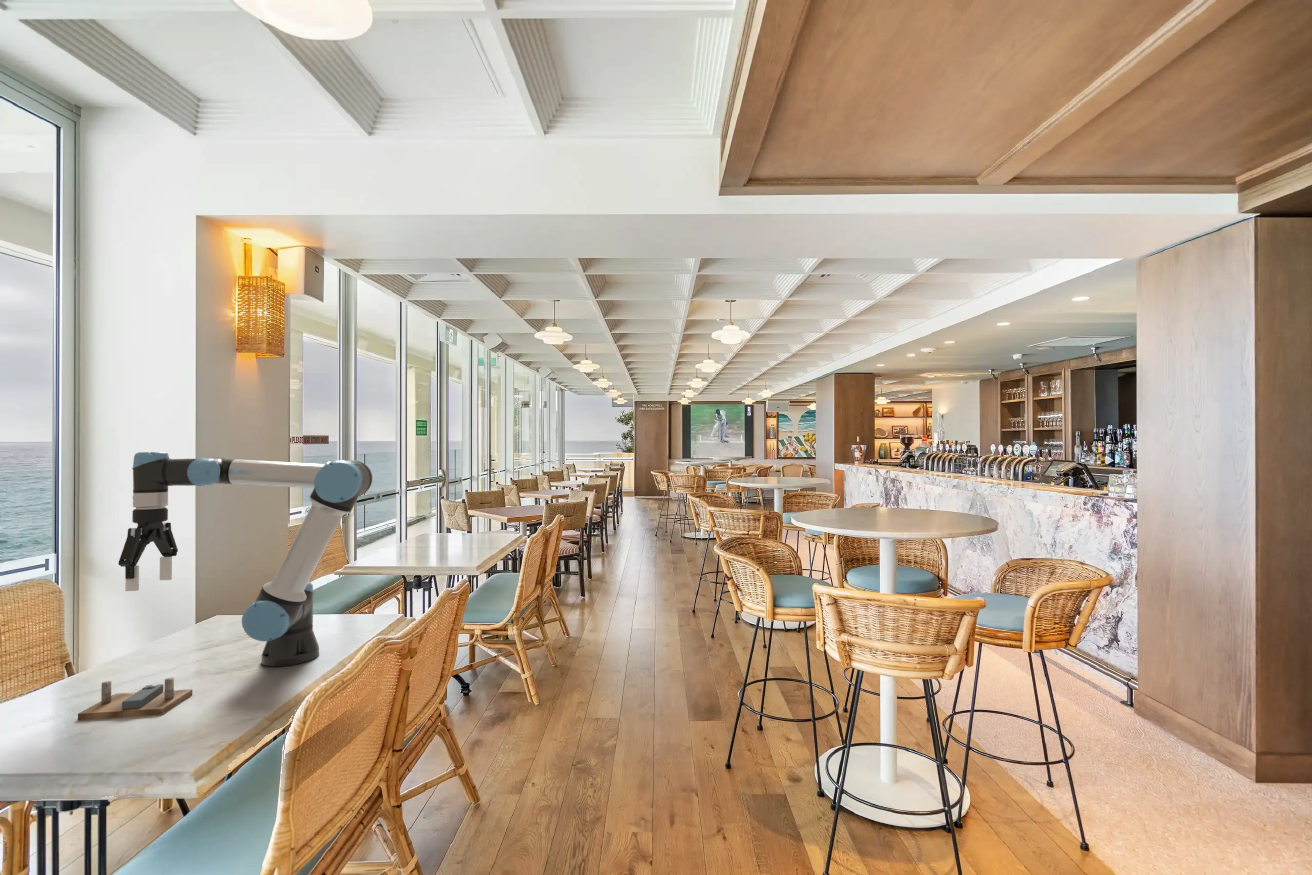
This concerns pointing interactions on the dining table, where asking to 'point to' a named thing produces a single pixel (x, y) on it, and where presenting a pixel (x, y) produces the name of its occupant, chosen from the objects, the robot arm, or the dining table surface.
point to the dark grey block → (142, 697)
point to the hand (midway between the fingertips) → (149, 585)
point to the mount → (156, 706)
